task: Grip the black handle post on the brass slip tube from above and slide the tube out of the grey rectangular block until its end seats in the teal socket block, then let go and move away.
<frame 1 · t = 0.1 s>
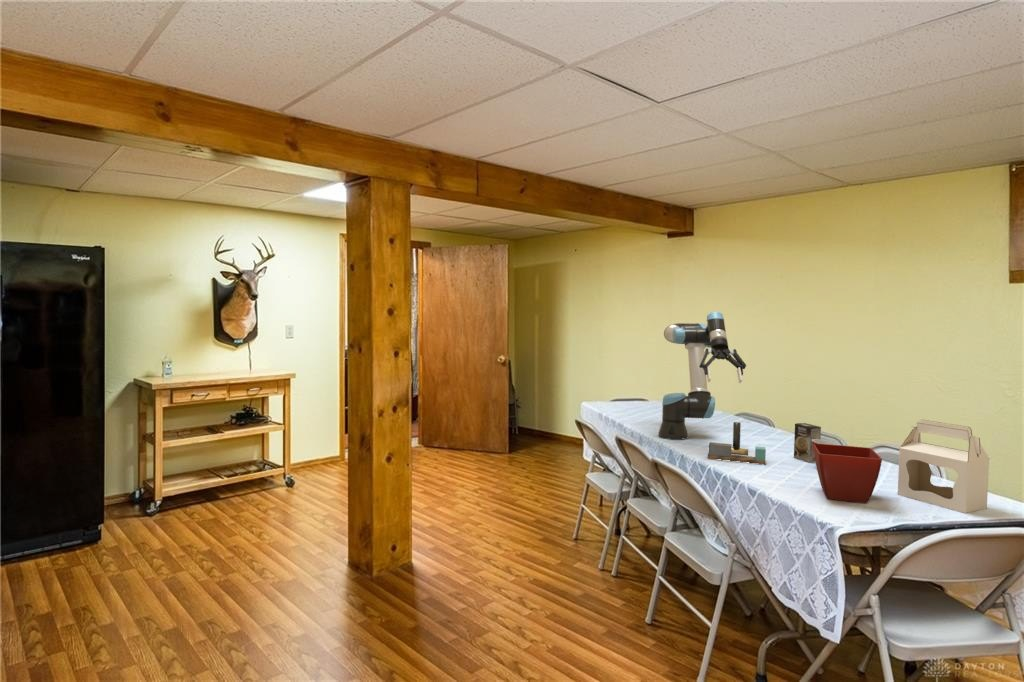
hand: (725, 381, 252), 36 cm above the table, tool tilted 35°, fingers open, 13 cm apart
coffee box: (806, 460, 256), on the table
plastic cup: (824, 469, 241), on the table
walnut board: (735, 460, 254), on the table
grey rectangular block: (720, 449, 256), on the walnut board, point 4 cm above the table
plant pot: (843, 497, 203), on the table
teal socket block: (760, 453, 250), on the walnut board, point 4 cm above the table
gable box: (940, 501, 200), on the table
slip tube: (731, 438, 254), point 10 cm above the table, slide at 0.0 cm
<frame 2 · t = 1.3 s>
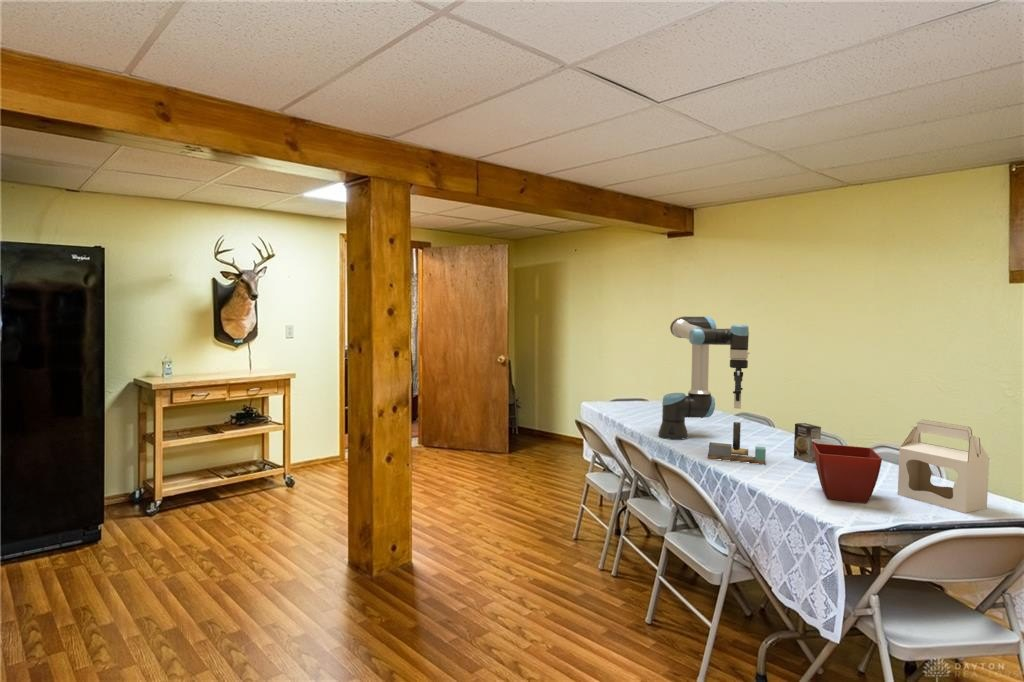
hand: (737, 406, 253), 24 cm above the table, tool pointing down, fingers open, 13 cm apart
nothing on the table moved.
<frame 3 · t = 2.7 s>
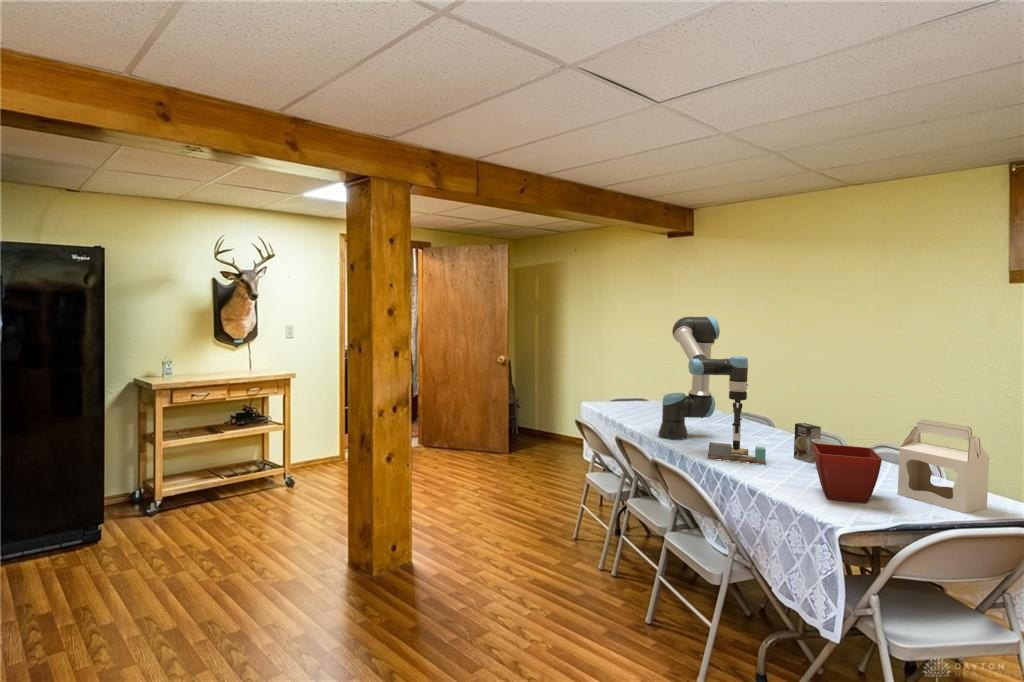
hand: (736, 437, 254), 10 cm above the table, tool pointing down, fingers open, 13 cm apart
nothing on the table moved.
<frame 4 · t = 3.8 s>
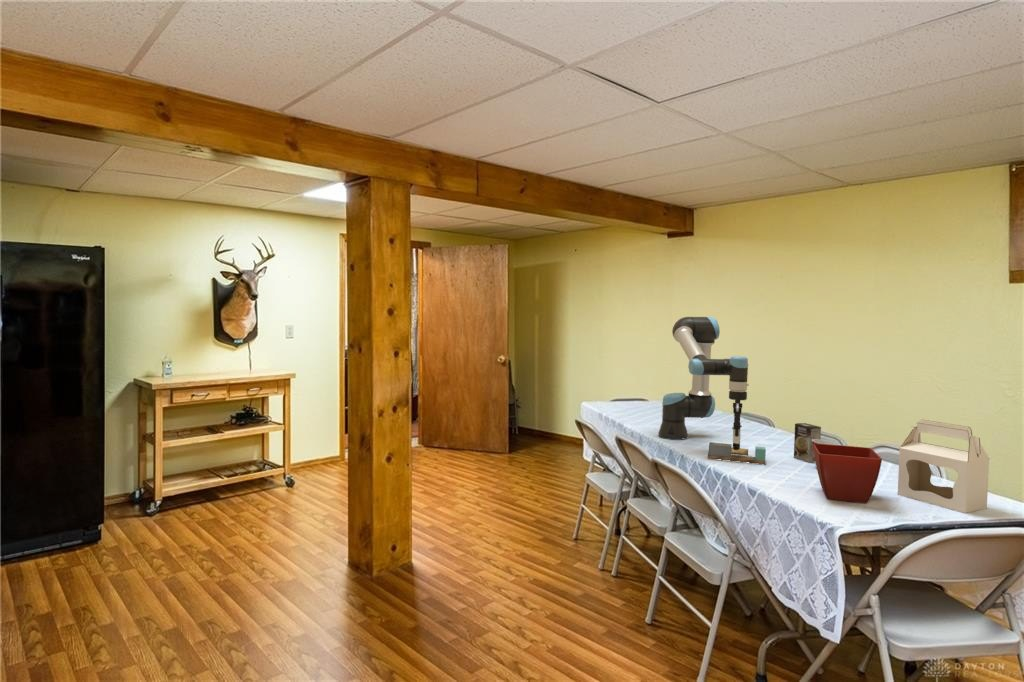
hand: (736, 442, 254), 8 cm above the table, tool pointing down, fingers closed on slip tube, 3 cm apart
slip tube: (731, 438, 254), point 10 cm above the table, slide at 0.0 cm, touching gripper
everything else where it was.
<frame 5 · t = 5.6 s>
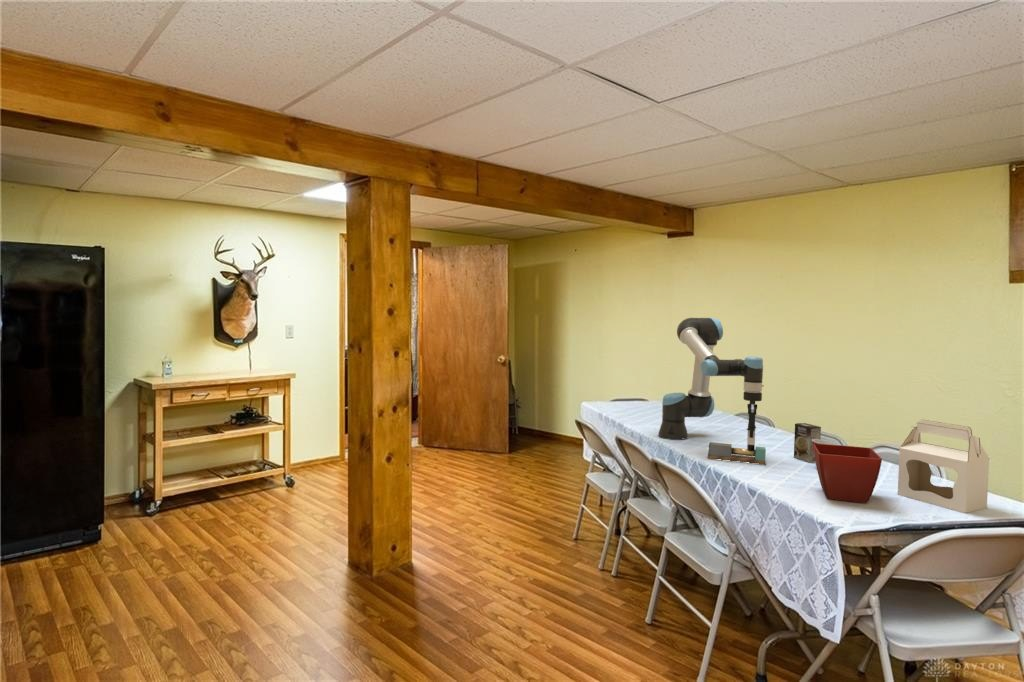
hand: (751, 443, 251), 8 cm above the table, tool pointing down, fingers closed on slip tube, 3 cm apart
slip tube: (746, 439, 252), point 10 cm above the table, slide at 6.1 cm, touching gripper
everything else where it was.
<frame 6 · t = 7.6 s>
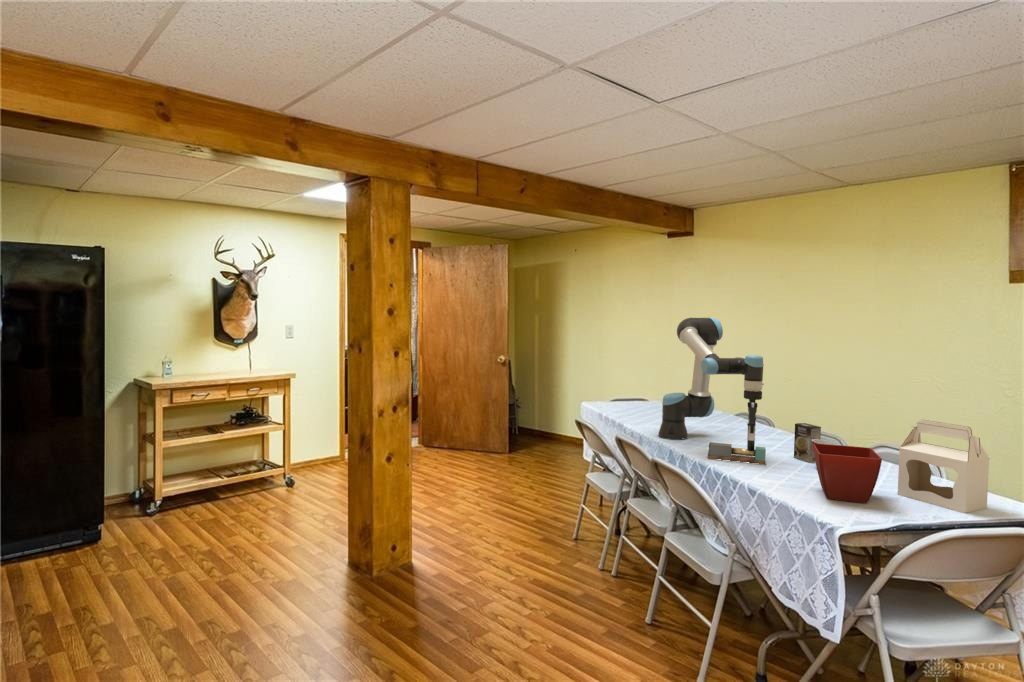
hand: (751, 437, 251), 11 cm above the table, tool pointing down, fingers open, 13 cm apart
slip tube: (746, 439, 252), point 10 cm above the table, slide at 6.0 cm
everything else where it was.
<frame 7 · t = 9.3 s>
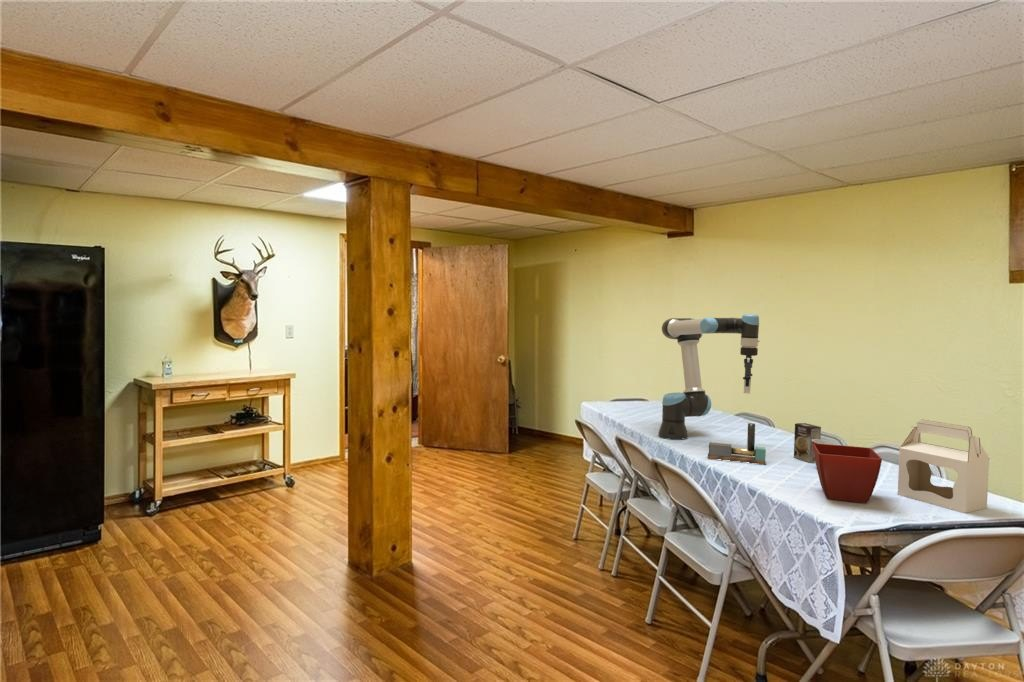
hand: (747, 391, 268), 29 cm above the table, tool pointing down, fingers open, 13 cm apart
nothing on the table moved.
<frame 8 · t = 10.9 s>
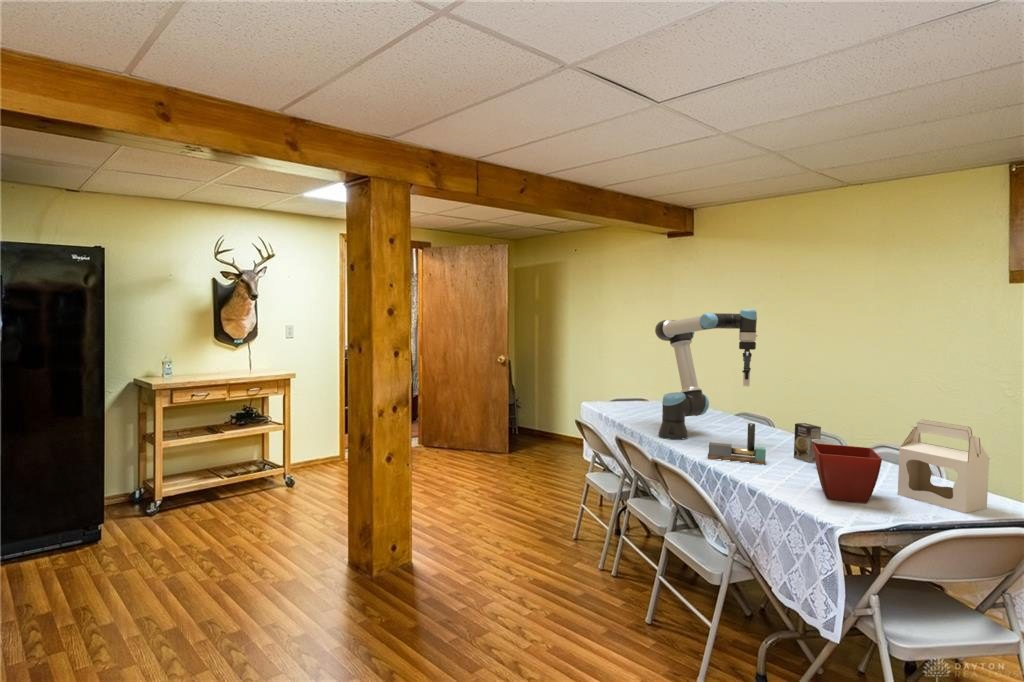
hand: (746, 384, 274), 32 cm above the table, tool pointing down, fingers open, 13 cm apart
nothing on the table moved.
at the end: slip tube slide at 6.0 cm; the gripper is holding nothing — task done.
